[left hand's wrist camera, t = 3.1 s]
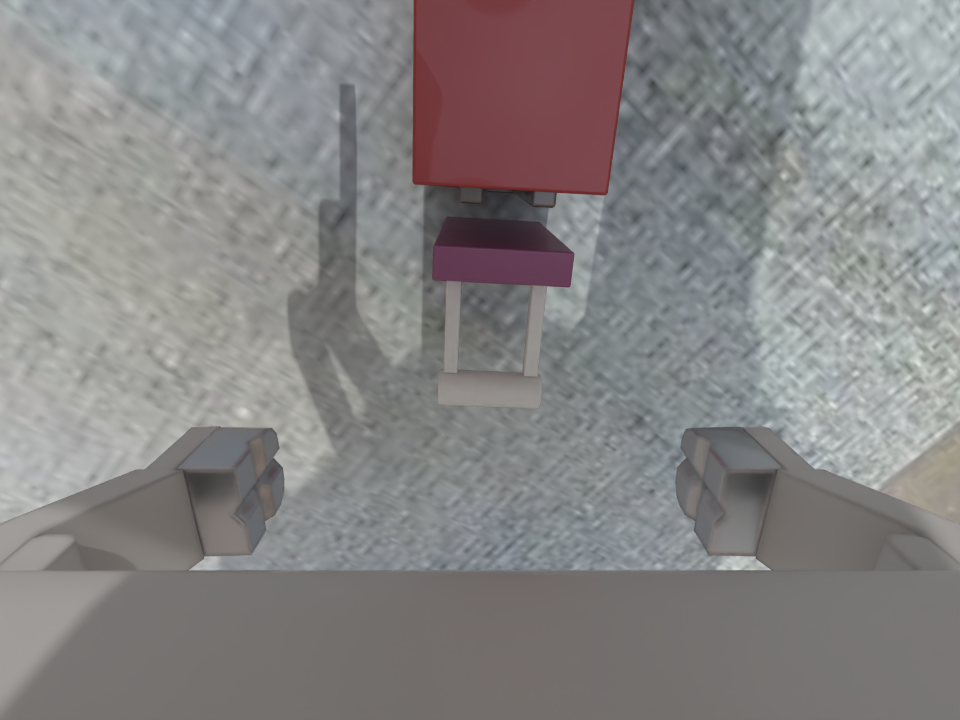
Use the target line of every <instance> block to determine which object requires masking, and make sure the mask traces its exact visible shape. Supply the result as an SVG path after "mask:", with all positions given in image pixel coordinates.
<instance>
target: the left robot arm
mask: <svg viewBox="0 0 960 720" xmlns="http://www.w3.org/2000/svg"><path fill="white" fill-rule="evenodd" d="M278 450H279V443H278V438H277V433H276V432H275V431H274V430H273V429H272V428H248V427H220V426H217V427H193V428H191V429H190V430H189V431H187V432H186V433H185V434H184V435H183V436H182V437H181V438H180V439H178V440H177V441H176V442H175V443H174V444H173V445H172V446H171V447H170V448H168V449H167V450H166V451H165V452H164V453H163V454H162V455H161V456H160V457H158V458H157V459H156V460H155V461H154V462H153V463H152V464H151V465H149V466H148V467H147V468H146V469H145V470H134V471H132V472H129V473H127V474H124V475H122V476H119V477H117V478H114V479H111V480H109V481H106V482H104V483H101V484H99V485H96V486H94V487H91V488H89V489H86V490H84V491H81V492H79V493H76V494H74V495H71V496H68V497H66V498H63V499H61V500H58V501H56V502H53V503H51V504H48V505H46V506H43V507H41V508H38V509H36V510H33V511H31V512H28V513H25V514H23V515H20V516H18V517H15V518H13V519H10V520H8V521H5V522H3V523H0V720H960V524H959V523H957V522H954V521H952V520H949V519H947V518H944V517H942V516H939V515H937V514H934V513H932V512H929V511H927V510H924V509H922V508H919V507H917V506H914V505H912V504H909V503H906V502H904V501H901V500H899V499H896V498H894V497H891V496H889V495H886V494H884V493H881V492H879V491H876V490H874V489H871V488H869V487H866V486H864V485H861V484H859V483H856V482H854V481H851V480H848V479H846V478H843V477H841V476H838V475H836V474H833V473H831V472H828V471H826V470H815V469H814V468H813V467H812V466H811V465H809V464H808V463H807V462H806V461H805V460H804V459H803V458H802V457H801V456H799V455H798V454H797V453H796V452H795V451H794V450H793V449H792V448H791V447H789V446H788V445H787V444H786V443H785V442H784V441H783V440H782V439H781V438H779V437H778V436H777V435H776V434H775V433H774V432H773V431H772V430H771V429H769V428H766V427H763V426H759V427H713V428H690V429H686V430H685V432H684V435H683V437H682V442H681V450H682V451H683V453H684V454H685V456H686V457H687V458H686V459H685V460H684V461H683V462H682V463H681V464H680V465H679V466H678V467H677V474H676V482H675V483H676V493H677V498H678V502H679V505H680V507H681V509H682V511H683V512H684V514H685V515H686V516H688V517H689V518H691V519H693V520H694V521H695V527H694V531H695V533H696V535H697V536H698V538H699V540H700V541H701V543H702V545H703V546H704V548H705V550H706V551H707V553H708V555H724V556H756V559H757V560H759V561H760V562H761V563H763V564H764V565H765V566H767V567H768V568H770V569H771V570H662V571H188V570H189V569H191V568H192V567H193V566H195V565H196V564H197V563H199V562H200V561H202V560H203V559H204V556H235V555H252V553H253V551H254V550H255V548H256V546H257V545H258V543H259V541H260V540H261V538H262V536H263V535H264V533H265V531H266V527H265V521H266V520H267V519H269V518H271V517H272V516H274V515H275V514H276V512H277V511H278V509H279V507H280V505H281V502H282V497H283V493H284V473H283V467H282V466H281V465H280V464H279V463H278V462H277V461H276V460H275V459H274V456H275V454H276V453H277V451H278Z"/></svg>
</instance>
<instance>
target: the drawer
mask: <svg viewBox="0 0 960 720" xmlns="http://www.w3.org/2000/svg"><path fill="white" fill-rule="evenodd" d="M483 191H485V192H502V193H515V194H516V195H518V196H519V197H520V198H522V199H523V200H525V201H526V202H527V203H529V204H530V205H532V206H533V207H548V208H553V207H555V204H556V194H557V193H554V192H537V191H520V190H502V189H485V188H468V187H459V193H458V200H459V202H461V203H477V204H480V203H482V201H483ZM573 261H574V253H573V252H572V251H571V250H570V249H569V248H568V247H567V246H565V245H564V244H563V243H562V242H561V241H560V240H559V239H558V238H556V237H555V236H554V235H553V234H552V233H551V232H550V231H548V230H547V229H546V228H545V227H544V226H543V225H542V224H541V223H539V222H528V221H510V220H492V219H474V218H456V217H447V218H446V220H445V222H444V224H443V227H442V229H441V231H440V233H439V235H438V237H437V240H436V242H435V244H434V246H433V274H432V278H433V280H437V281H446V310H445V341H444V369H440V371H439V377H438V404H440V405H460V406H483V407H506V408H529V409H538V408H539V407H540V405H541V399H542V378H541V375H540V374H538V367H539V358H540V348H541V338H542V329H543V319H544V310H545V300H546V291H547V286H553V287H570V285H571V278H572V269H573ZM462 282H476V283H495V284H515V285H530V296H529V307H528V317H527V328H526V339H525V350H524V361H523V373H517V372H495V371H473V370H458V356H459V333H460V310H461V286H462Z"/></svg>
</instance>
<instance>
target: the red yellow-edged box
mask: <svg viewBox="0 0 960 720" xmlns="http://www.w3.org/2000/svg"><path fill="white" fill-rule="evenodd" d="M633 7H634V0H414V40H413V179H412V181H413V183H414V184H416V185H433V186H450V187H468V188H485V189H502V190H520V191H537V192H554V193H572V194H589V195H607V193H608V187H609V180H610V172H611V165H612V158H613V151H614V143H615V136H616V129H617V122H618V115H619V107H620V100H621V93H622V86H623V79H624V71H625V64H626V57H627V50H628V43H629V35H630V28H631V21H632V14H633Z"/></svg>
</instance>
